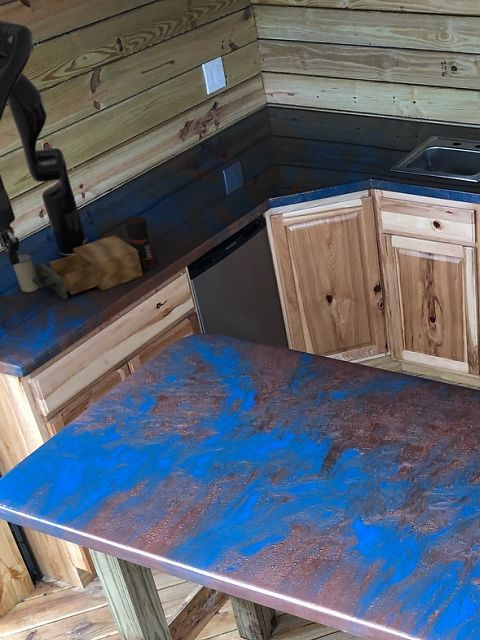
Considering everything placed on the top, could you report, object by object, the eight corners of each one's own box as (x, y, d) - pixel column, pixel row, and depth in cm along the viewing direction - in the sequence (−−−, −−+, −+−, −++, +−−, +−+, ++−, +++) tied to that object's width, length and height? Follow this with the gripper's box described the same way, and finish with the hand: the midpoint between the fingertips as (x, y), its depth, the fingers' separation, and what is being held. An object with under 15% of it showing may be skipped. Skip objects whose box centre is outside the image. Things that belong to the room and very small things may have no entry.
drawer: (50, 304, 267) (43, 283, 263) (31, 288, 275) (24, 268, 271) (104, 285, 276) (98, 265, 272) (84, 270, 284) (78, 250, 280)
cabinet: (101, 290, 275) (94, 264, 270) (80, 274, 284) (72, 248, 279) (143, 275, 283) (137, 249, 277) (121, 260, 291) (114, 234, 286)
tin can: (18, 288, 278) (8, 258, 271) (35, 282, 280) (26, 252, 274) (25, 294, 274) (15, 264, 268) (43, 288, 277) (33, 258, 271)
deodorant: (149, 269, 286) (139, 225, 277) (132, 268, 287) (121, 223, 278) (158, 261, 290) (148, 217, 281) (140, 260, 291) (130, 215, 282)
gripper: (19, 208, 247) (37, 266, 257) (0, 194, 255) (18, 252, 265) (-9, 216, 243) (11, 275, 253) (-27, 202, 251) (-8, 260, 261)
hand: (14, 263), depth 259 cm, fingers closed
